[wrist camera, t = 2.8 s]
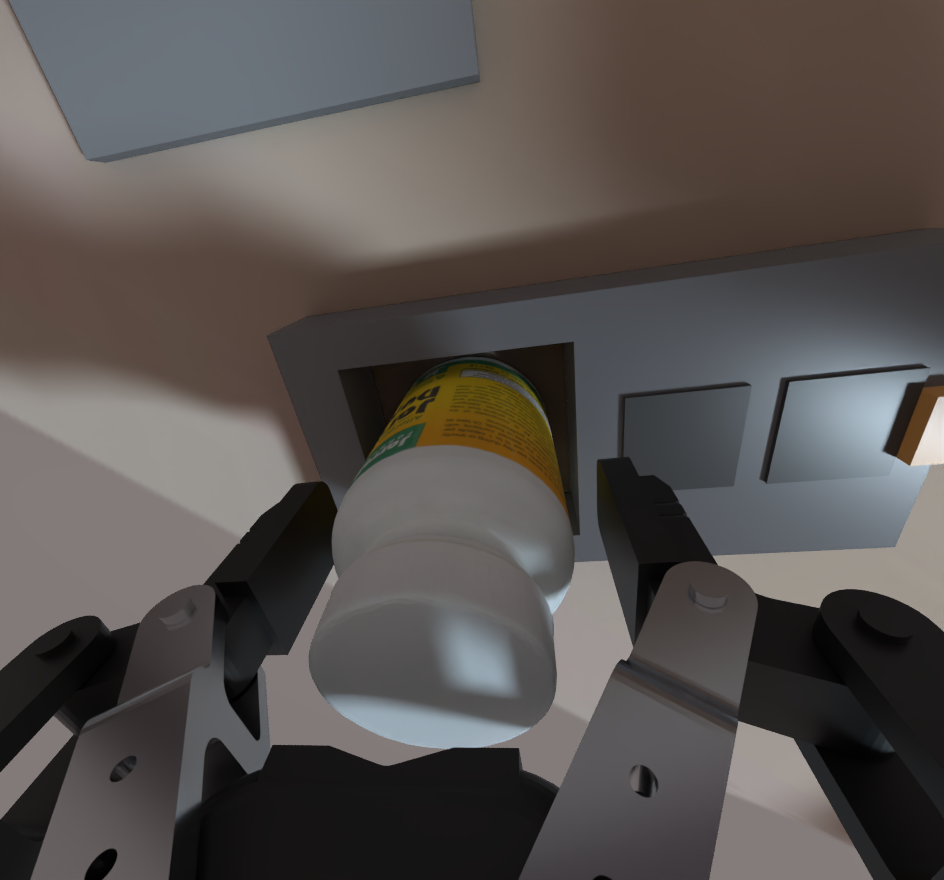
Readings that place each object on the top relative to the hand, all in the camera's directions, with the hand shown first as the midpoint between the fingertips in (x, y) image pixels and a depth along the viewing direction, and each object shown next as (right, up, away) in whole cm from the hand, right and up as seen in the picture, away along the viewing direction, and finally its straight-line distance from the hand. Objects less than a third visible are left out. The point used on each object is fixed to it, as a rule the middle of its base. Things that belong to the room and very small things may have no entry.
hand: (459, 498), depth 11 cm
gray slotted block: (+4, +2, +3) cm, 6 cm away
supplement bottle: (0, +2, +4) cm, 5 cm away
